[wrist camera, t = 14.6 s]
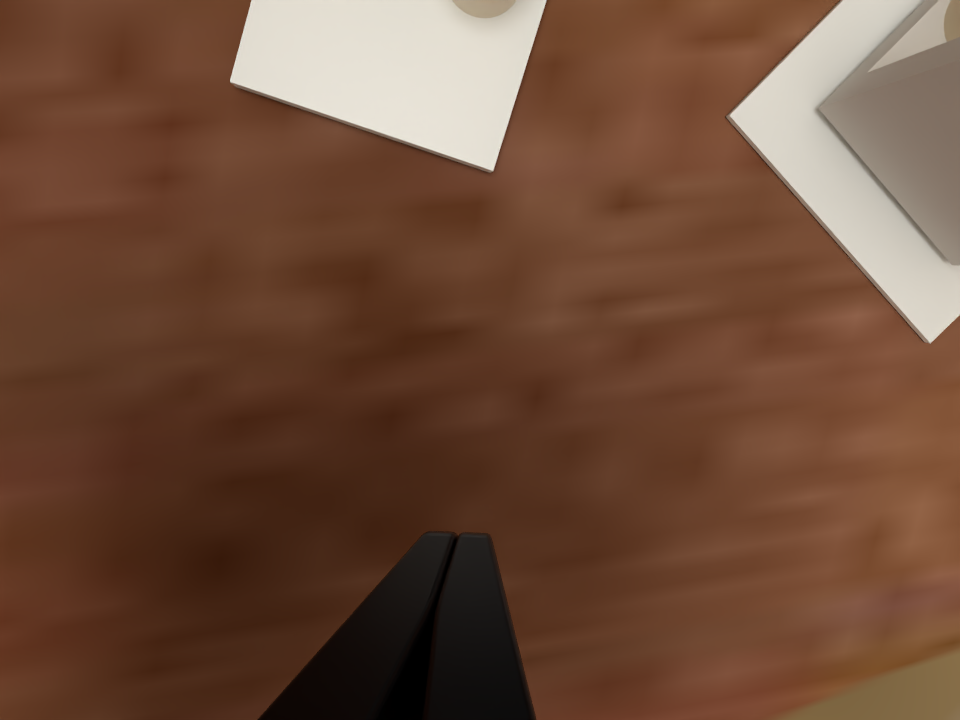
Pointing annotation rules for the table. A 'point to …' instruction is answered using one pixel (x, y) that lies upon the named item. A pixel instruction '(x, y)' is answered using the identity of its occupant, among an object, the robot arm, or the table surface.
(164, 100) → the table surface
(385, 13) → the board
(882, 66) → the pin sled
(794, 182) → the pad
